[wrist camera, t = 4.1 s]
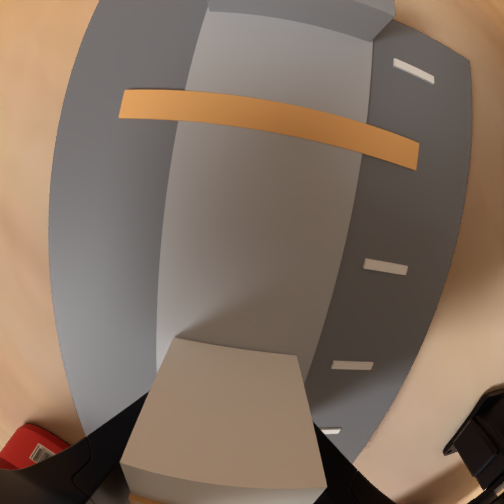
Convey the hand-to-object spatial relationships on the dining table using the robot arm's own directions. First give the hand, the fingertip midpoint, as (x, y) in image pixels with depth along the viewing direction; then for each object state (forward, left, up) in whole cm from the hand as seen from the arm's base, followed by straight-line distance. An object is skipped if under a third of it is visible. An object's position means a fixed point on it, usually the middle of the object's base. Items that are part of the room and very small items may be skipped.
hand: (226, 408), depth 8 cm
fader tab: (0, 0, -1) cm, 1 cm away
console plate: (0, -3, -3) cm, 4 cm away
